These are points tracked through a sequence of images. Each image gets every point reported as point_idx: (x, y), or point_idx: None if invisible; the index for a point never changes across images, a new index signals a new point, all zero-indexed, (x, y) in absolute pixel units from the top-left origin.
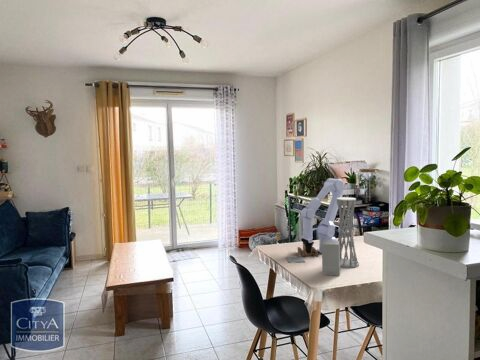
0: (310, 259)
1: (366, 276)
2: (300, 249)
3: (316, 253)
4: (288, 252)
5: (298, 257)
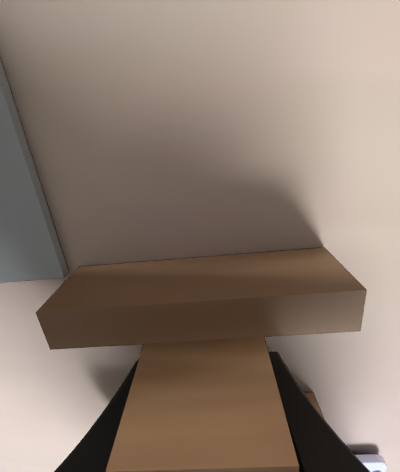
0: (11, 350)
1: None
2: (198, 319)
3: None
4: (334, 91)
5: (13, 231)
